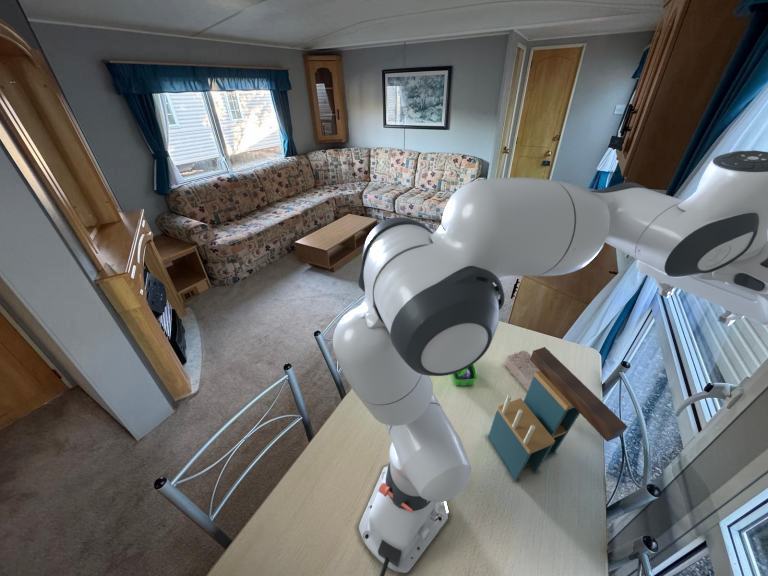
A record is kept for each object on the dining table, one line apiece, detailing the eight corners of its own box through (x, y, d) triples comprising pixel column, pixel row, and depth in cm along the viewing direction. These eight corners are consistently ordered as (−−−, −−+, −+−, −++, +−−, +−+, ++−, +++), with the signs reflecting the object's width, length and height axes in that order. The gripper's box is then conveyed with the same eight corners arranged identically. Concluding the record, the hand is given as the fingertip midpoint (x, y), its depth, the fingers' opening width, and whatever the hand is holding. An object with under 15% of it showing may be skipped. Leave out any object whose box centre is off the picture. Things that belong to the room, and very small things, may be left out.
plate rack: (560, 461, 81) (597, 406, 65) (514, 481, 77) (541, 428, 62) (529, 421, 90) (555, 364, 75) (487, 437, 87) (505, 382, 71)
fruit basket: (475, 388, 100) (481, 366, 93) (449, 389, 100) (452, 367, 93) (468, 361, 109) (472, 340, 102) (444, 362, 109) (446, 340, 102)
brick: (557, 394, 97) (561, 385, 94) (536, 402, 95) (540, 393, 92) (522, 357, 110) (525, 348, 107) (502, 364, 107) (505, 355, 105)
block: (620, 435, 60) (628, 426, 58) (607, 441, 59) (614, 432, 57) (541, 356, 77) (544, 346, 75) (529, 359, 76) (533, 350, 74)
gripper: (632, 238, 56) (624, 289, 64) (792, 294, 40) (753, 351, 48) (658, 220, 56) (647, 273, 65) (827, 268, 40) (782, 329, 49)
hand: (693, 307), depth 56 cm, fingers open, 8 cm apart
